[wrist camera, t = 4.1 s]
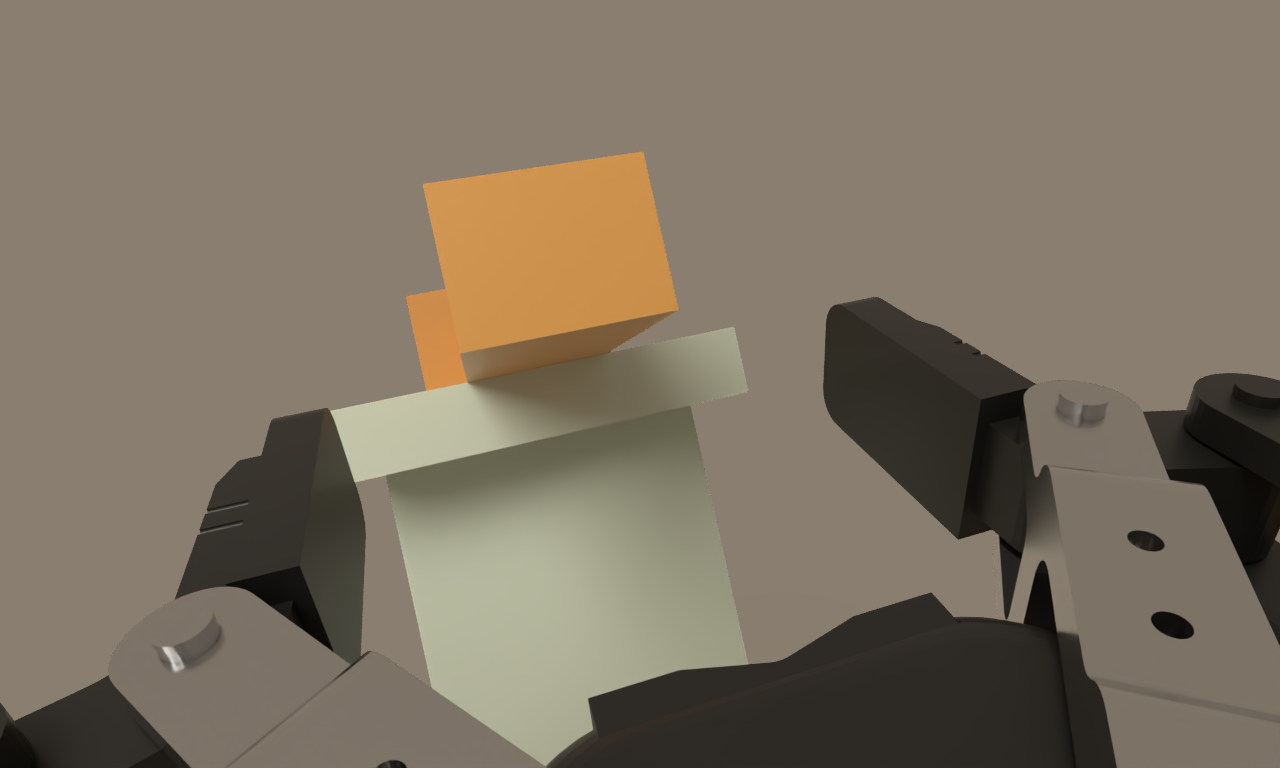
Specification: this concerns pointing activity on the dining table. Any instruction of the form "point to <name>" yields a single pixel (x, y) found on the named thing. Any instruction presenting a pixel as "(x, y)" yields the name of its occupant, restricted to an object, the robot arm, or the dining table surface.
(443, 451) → the stand
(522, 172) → the orange t-shaped block
